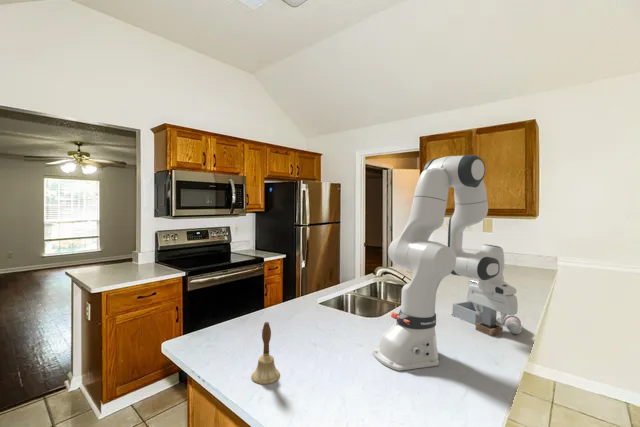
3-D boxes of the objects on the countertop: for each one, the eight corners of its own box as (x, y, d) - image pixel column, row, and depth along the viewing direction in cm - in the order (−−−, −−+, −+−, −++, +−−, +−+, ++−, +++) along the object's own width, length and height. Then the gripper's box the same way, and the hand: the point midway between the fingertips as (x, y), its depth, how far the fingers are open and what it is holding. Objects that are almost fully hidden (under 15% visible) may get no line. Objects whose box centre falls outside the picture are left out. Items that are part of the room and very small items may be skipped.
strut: (490, 334, 124) (491, 301, 123) (480, 330, 127) (481, 298, 127) (497, 332, 125) (498, 300, 125) (487, 328, 129) (488, 297, 129)
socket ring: (491, 336, 122) (491, 329, 122) (475, 329, 128) (475, 323, 128) (502, 333, 125) (502, 327, 125) (486, 326, 131) (487, 320, 131)
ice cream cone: (507, 321, 137) (516, 341, 123) (496, 312, 138) (503, 330, 124) (519, 312, 135) (529, 331, 121) (507, 303, 136) (515, 321, 122)
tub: (475, 324, 133) (475, 312, 133) (452, 315, 144) (452, 303, 144) (493, 320, 138) (494, 308, 138) (470, 311, 149) (470, 300, 149)
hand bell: (285, 375, 92) (286, 322, 91) (263, 388, 86) (263, 330, 85) (268, 365, 97) (268, 315, 97) (245, 376, 91) (245, 322, 91)
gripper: (463, 279, 134) (462, 311, 134) (510, 292, 115) (508, 329, 116) (473, 278, 136) (472, 309, 137) (520, 290, 118) (519, 326, 119)
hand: (489, 318), depth 126 cm, fingers open, 8 cm apart
